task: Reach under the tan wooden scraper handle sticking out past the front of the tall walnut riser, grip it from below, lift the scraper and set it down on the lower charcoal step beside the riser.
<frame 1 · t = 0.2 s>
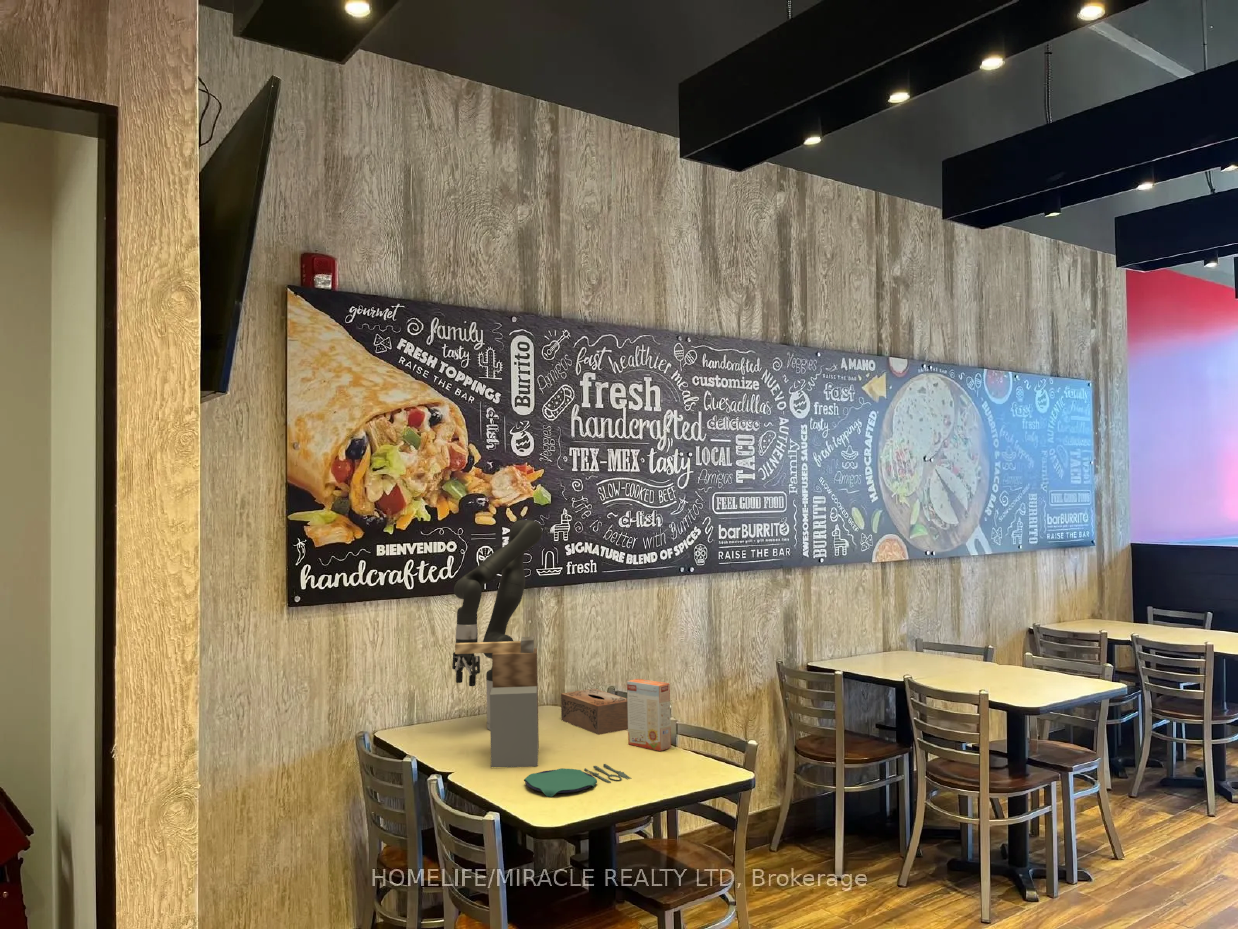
hand: (465, 684, 311), 17 cm above the table, tool pointing down, fingers open, 8 cm apart
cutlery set: (576, 784, 256), on the table
cracker box: (649, 747, 292), on the table
tissue box cover: (596, 725, 322), on the table
riser: (516, 751, 288), on the table
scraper: (493, 652, 289), point 32 cm above the table, touching riser
step: (514, 762, 277), on the table
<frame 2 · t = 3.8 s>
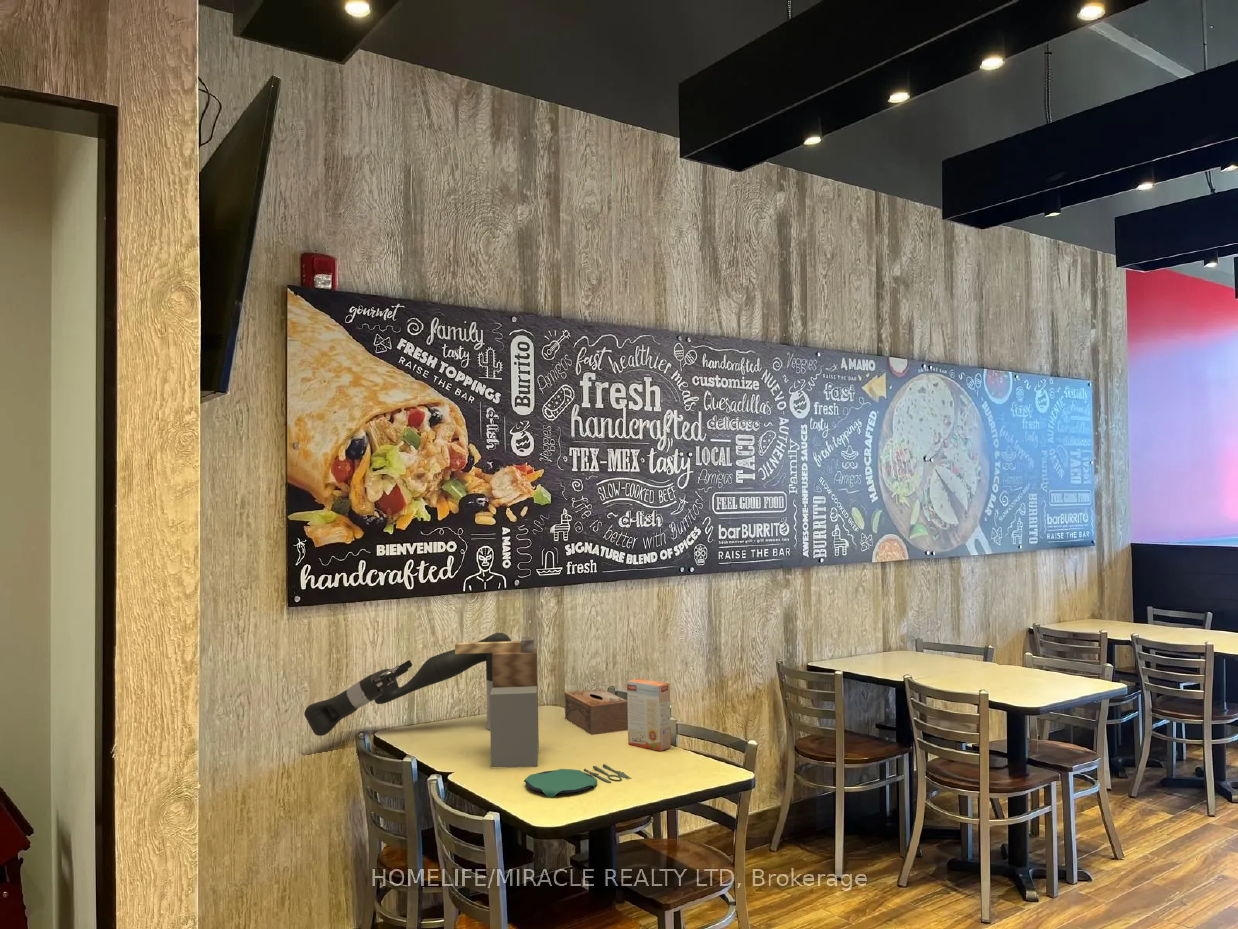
hand: (409, 665, 290), 28 cm above the table, tool pointing upward, fingers open, 8 cm apart
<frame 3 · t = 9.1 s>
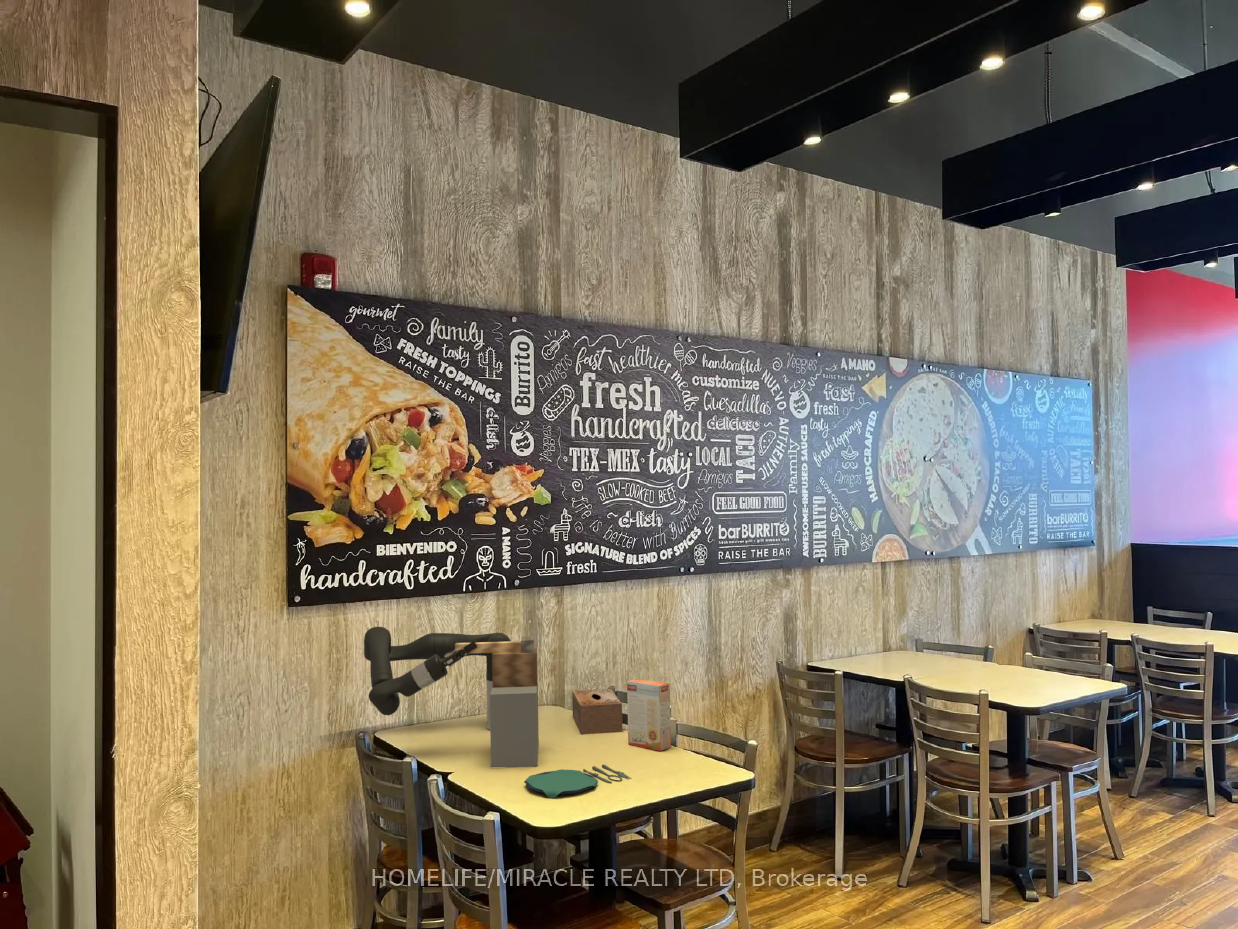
hand: (475, 643, 289), 35 cm above the table, tool pointing upward, fingers closed on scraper, 3 cm apart
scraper: (493, 652, 289), point 32 cm above the table, touching gripper, riser
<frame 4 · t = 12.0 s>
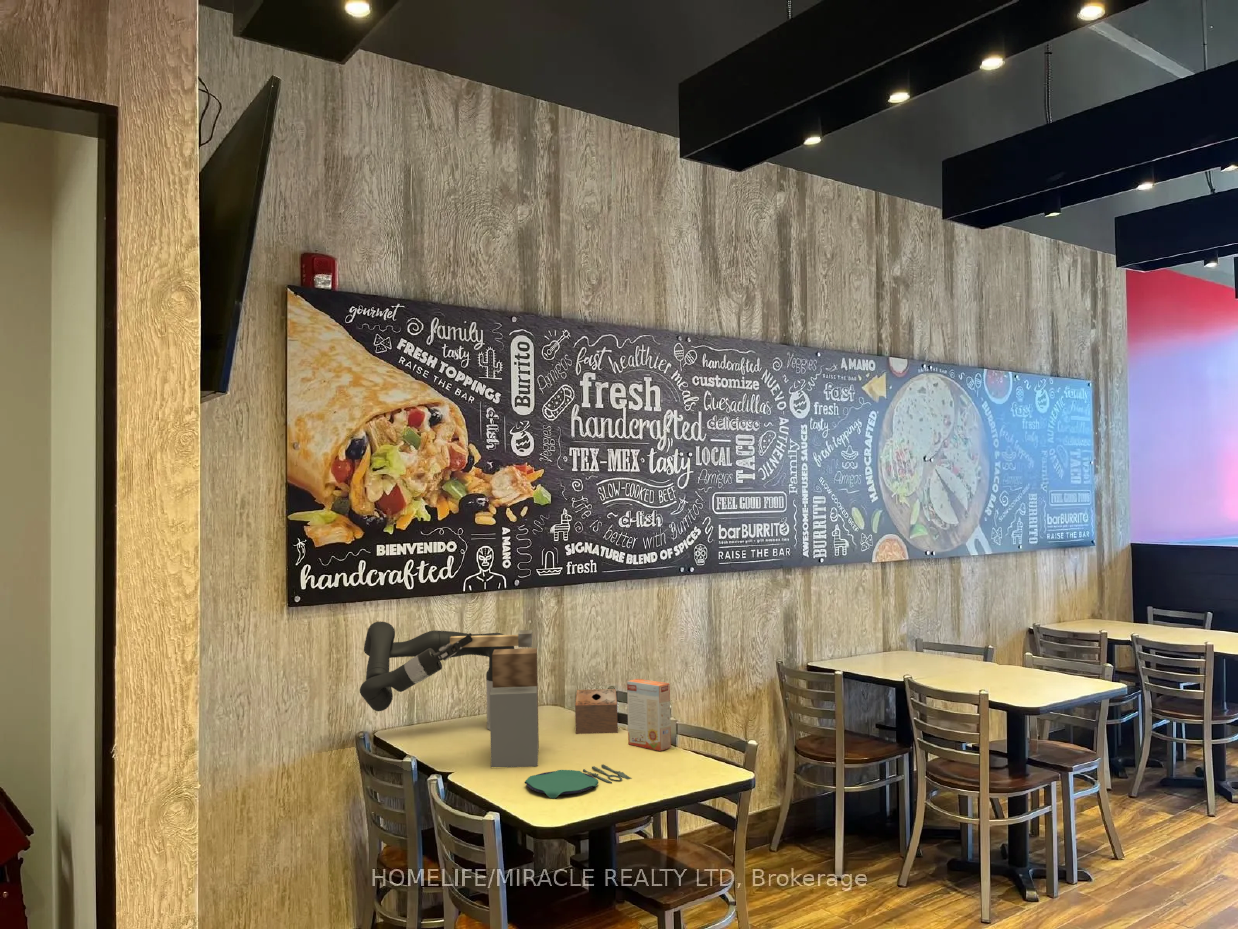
hand: (471, 636, 278), 39 cm above the table, tool pointing upward, fingers closed on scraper, 3 cm apart
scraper: (489, 645, 278), point 36 cm above the table, touching gripper
when the fingers open (27 cm above the table, at t = 15.4 s): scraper drops 2 cm, resting on step.
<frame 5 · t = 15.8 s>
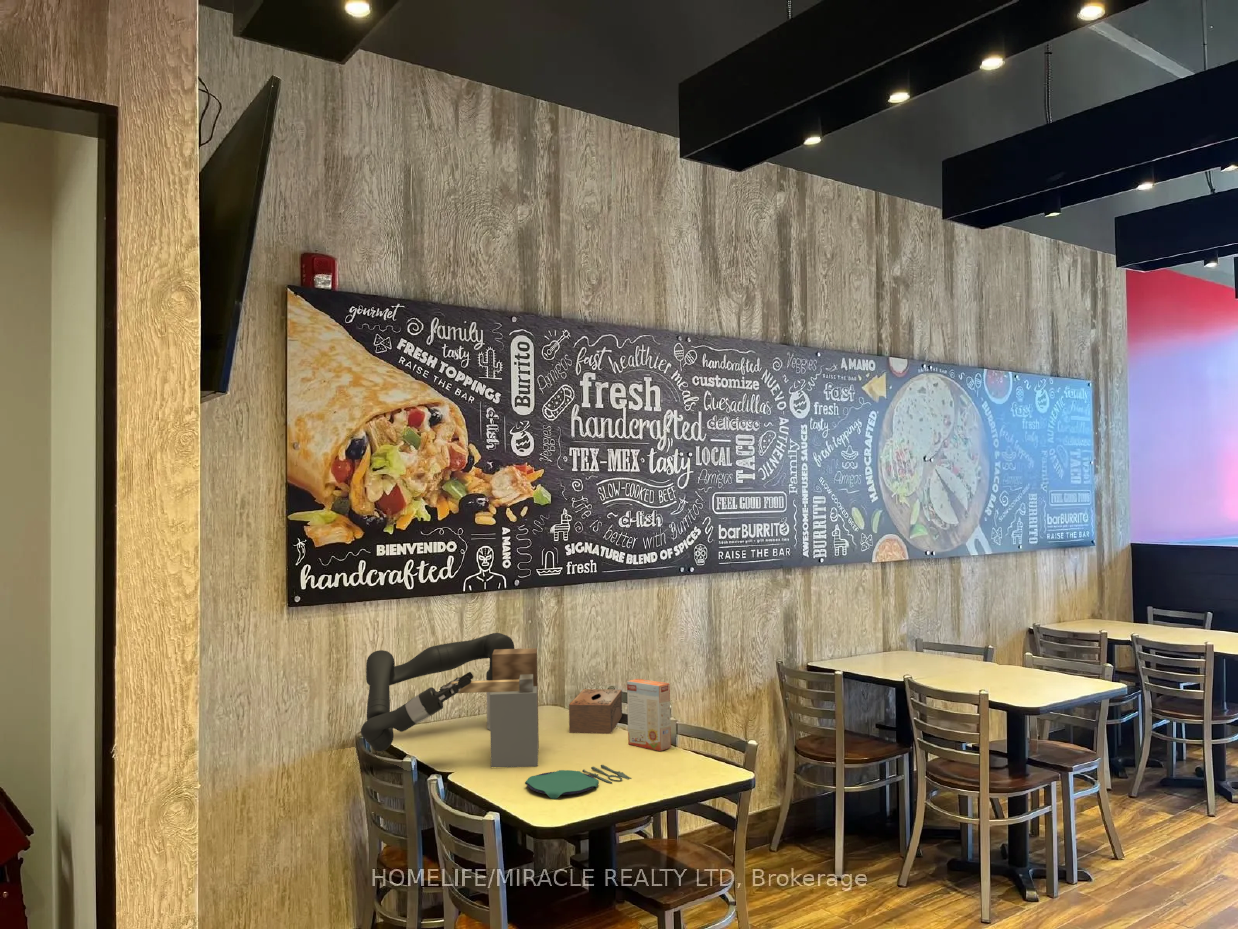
hand: (471, 676, 277), 27 cm above the table, tool pointing upward, fingers open, 7 cm apart
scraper: (490, 691, 277), point 22 cm above the table, touching step
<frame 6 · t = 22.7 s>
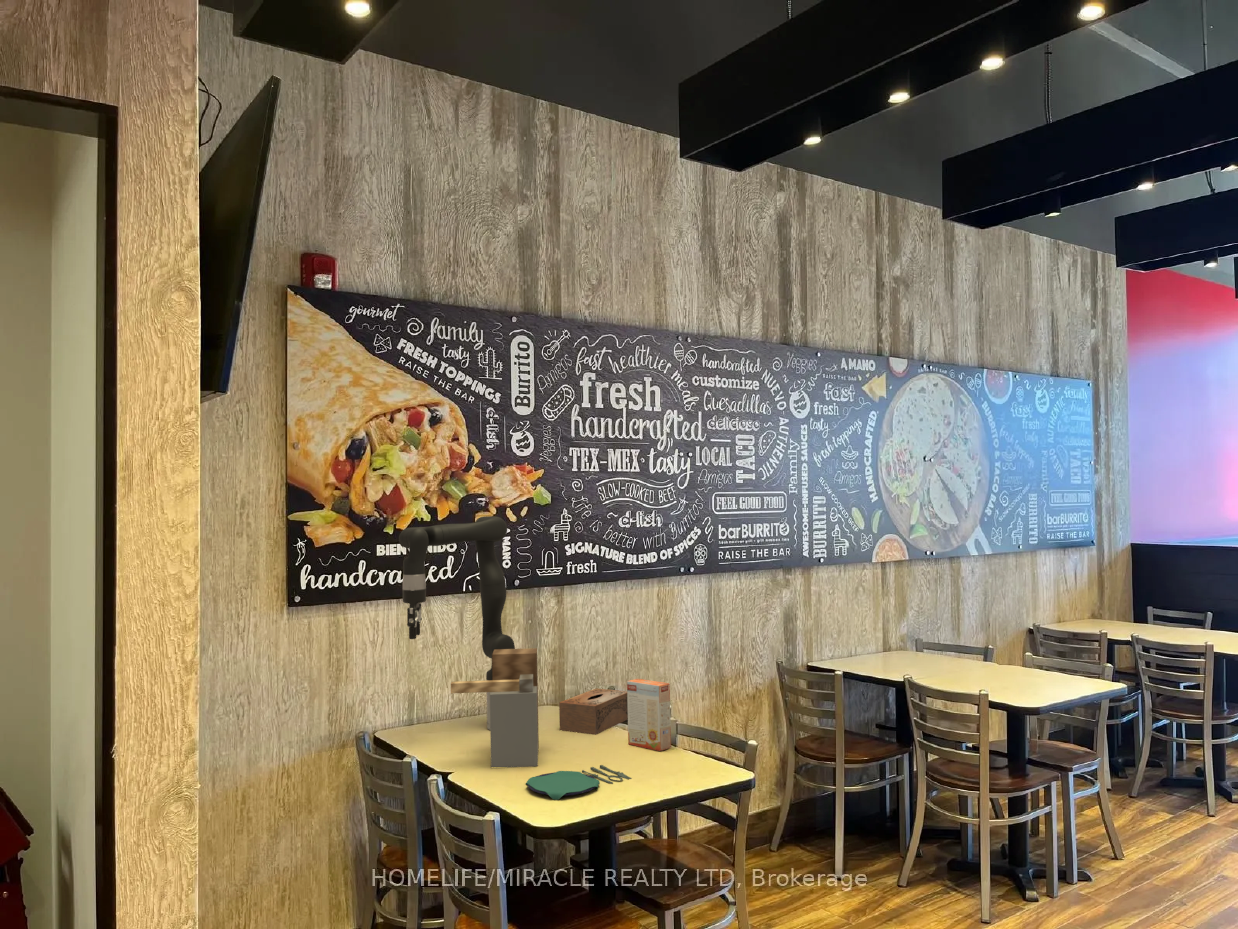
hand: (414, 637, 298), 36 cm above the table, tool pointing down, fingers open, 8 cm apart
at the end: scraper inside the target area on the step (0.1 cm from its centre), point 22.0 cm above the step's base; the gripper is holding nothing; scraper tilted 0° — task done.
